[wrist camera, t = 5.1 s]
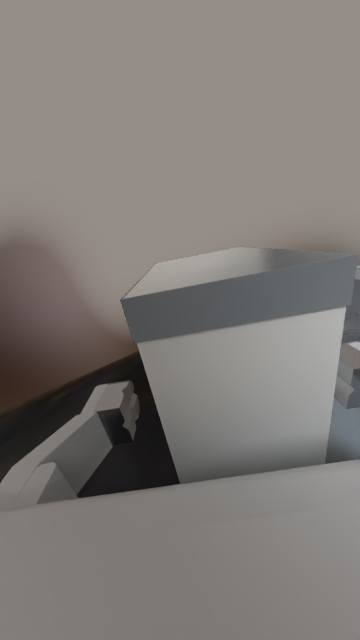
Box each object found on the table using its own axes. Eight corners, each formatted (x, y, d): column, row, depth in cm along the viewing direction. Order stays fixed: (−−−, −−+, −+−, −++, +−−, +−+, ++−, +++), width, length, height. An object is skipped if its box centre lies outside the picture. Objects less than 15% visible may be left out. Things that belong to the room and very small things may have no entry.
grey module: (251, 403, 14) (240, 246, 10) (316, 543, 8) (357, 254, 4) (189, 413, 15) (155, 263, 10) (200, 556, 8) (119, 299, 4)
